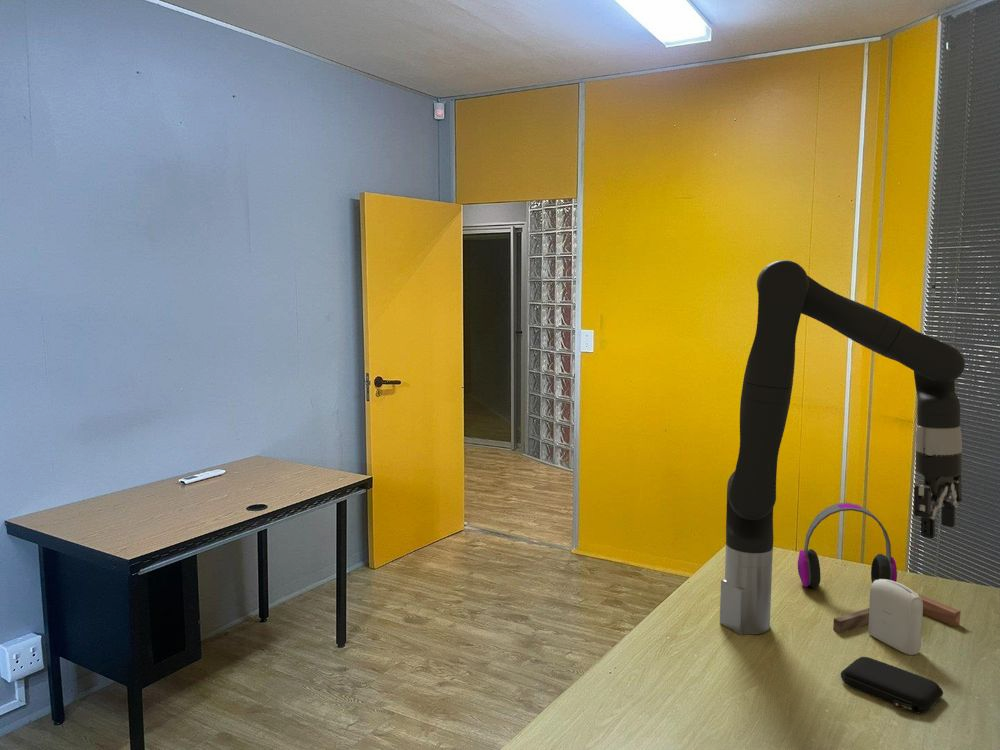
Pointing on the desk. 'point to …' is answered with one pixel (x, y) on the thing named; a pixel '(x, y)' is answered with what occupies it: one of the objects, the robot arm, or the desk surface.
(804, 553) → the headphones
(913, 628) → the photo printer
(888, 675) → the carrying case or bag
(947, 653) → the desk surface
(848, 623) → the brown l-shaped block
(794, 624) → the desk surface
